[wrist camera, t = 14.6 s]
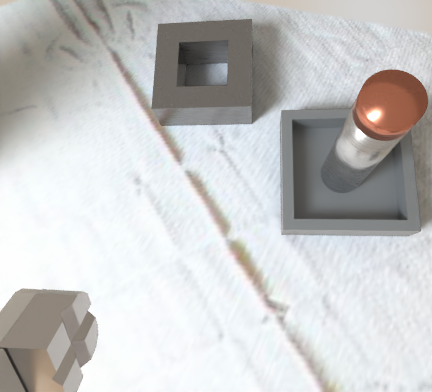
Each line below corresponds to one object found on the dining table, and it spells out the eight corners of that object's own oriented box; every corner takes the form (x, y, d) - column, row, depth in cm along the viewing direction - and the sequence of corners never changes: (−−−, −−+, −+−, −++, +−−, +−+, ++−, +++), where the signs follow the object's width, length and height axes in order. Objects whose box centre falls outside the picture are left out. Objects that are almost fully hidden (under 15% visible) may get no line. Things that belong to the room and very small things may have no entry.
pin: (321, 193, 38) (362, 128, 23) (319, 155, 39) (357, 70, 24) (363, 193, 37) (431, 127, 23) (360, 154, 38) (423, 68, 24)
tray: (281, 234, 38) (283, 229, 35) (280, 123, 41) (281, 110, 38) (408, 236, 37) (421, 231, 34) (397, 120, 40) (408, 107, 37)
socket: (161, 125, 43) (151, 108, 39) (167, 47, 45) (158, 23, 41) (252, 123, 41) (251, 106, 38) (252, 43, 44) (251, 19, 40)
